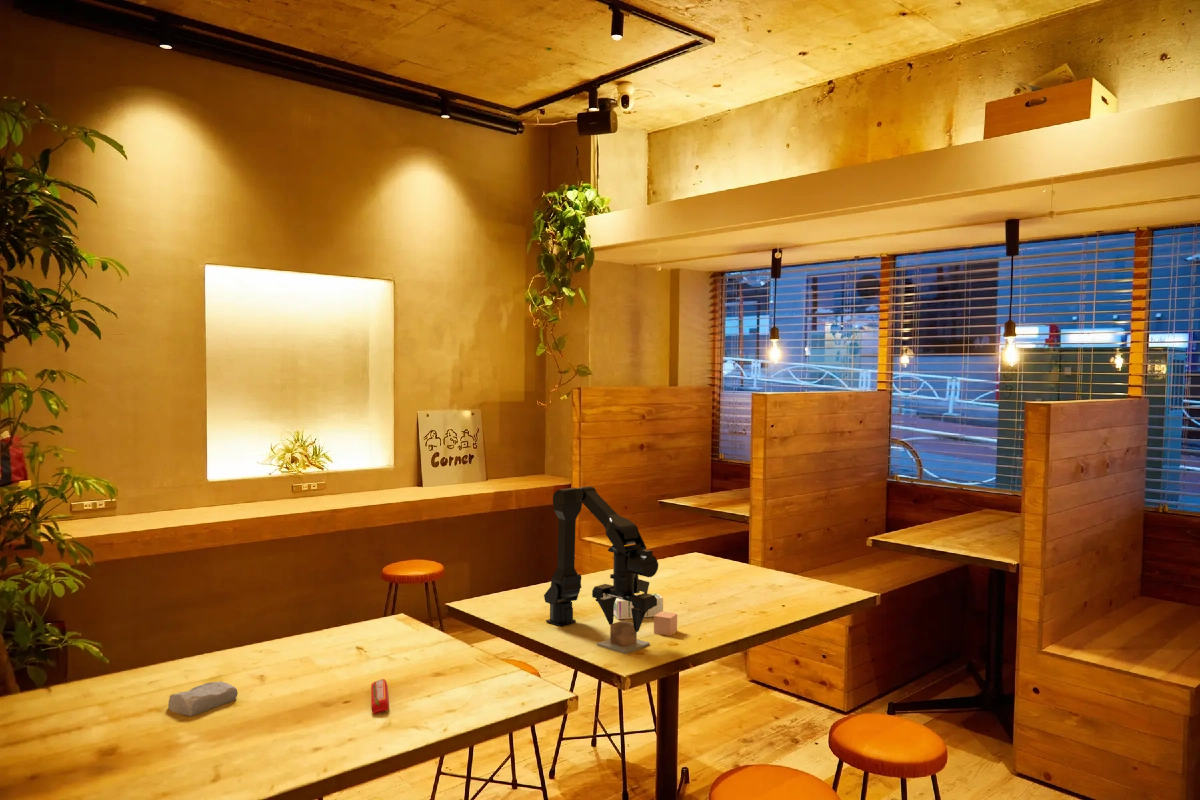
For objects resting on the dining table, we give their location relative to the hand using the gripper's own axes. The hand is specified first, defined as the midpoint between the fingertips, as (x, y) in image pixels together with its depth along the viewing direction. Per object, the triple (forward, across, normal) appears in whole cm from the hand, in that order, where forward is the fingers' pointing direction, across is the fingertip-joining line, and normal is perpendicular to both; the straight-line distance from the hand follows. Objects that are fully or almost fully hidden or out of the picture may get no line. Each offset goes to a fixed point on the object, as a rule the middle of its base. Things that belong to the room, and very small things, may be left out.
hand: (623, 628), depth 219 cm
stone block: (+5, +42, +93) cm, 102 cm away
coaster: (+5, 0, 0) cm, 5 cm away
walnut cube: (+4, 0, 0) cm, 4 cm away
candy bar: (+5, +14, +66) cm, 68 cm away
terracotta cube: (+5, -1, -17) cm, 18 cm away
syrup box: (+2, +11, -30) cm, 32 cm away
